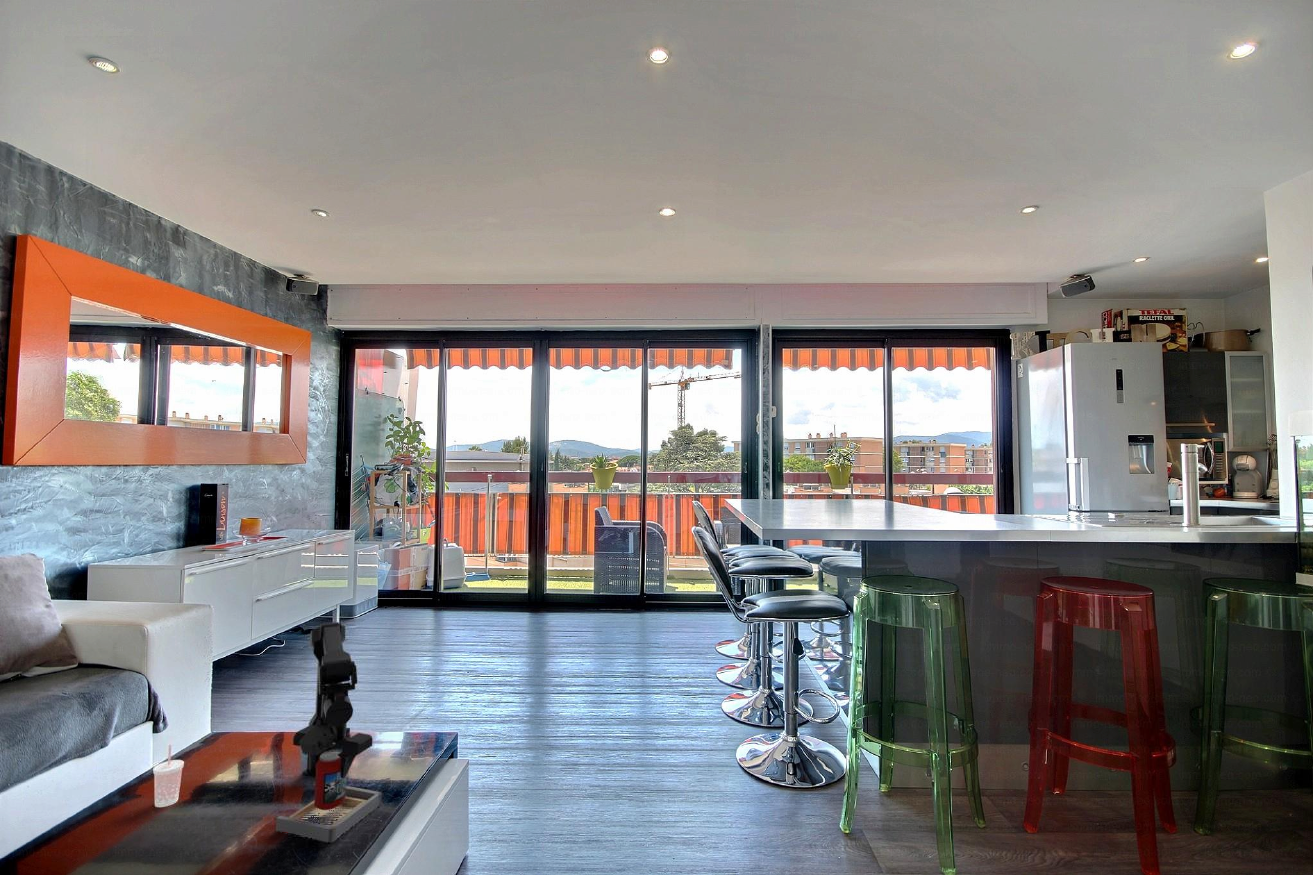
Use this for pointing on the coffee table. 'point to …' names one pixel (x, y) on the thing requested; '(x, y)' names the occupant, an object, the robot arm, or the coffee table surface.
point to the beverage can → (329, 781)
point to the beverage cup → (167, 781)
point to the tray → (312, 809)
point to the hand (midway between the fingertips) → (331, 775)
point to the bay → (340, 827)
